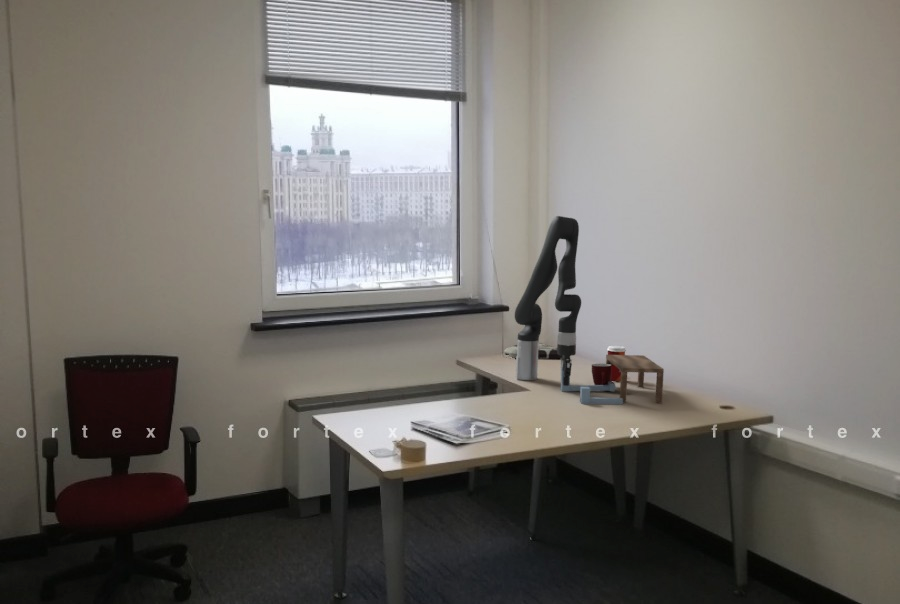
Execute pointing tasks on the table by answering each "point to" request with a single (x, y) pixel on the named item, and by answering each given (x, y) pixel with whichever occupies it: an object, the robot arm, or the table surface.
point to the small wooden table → (636, 365)
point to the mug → (601, 373)
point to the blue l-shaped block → (587, 399)
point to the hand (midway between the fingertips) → (565, 384)
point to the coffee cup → (614, 370)
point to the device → (543, 352)
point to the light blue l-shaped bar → (592, 387)
